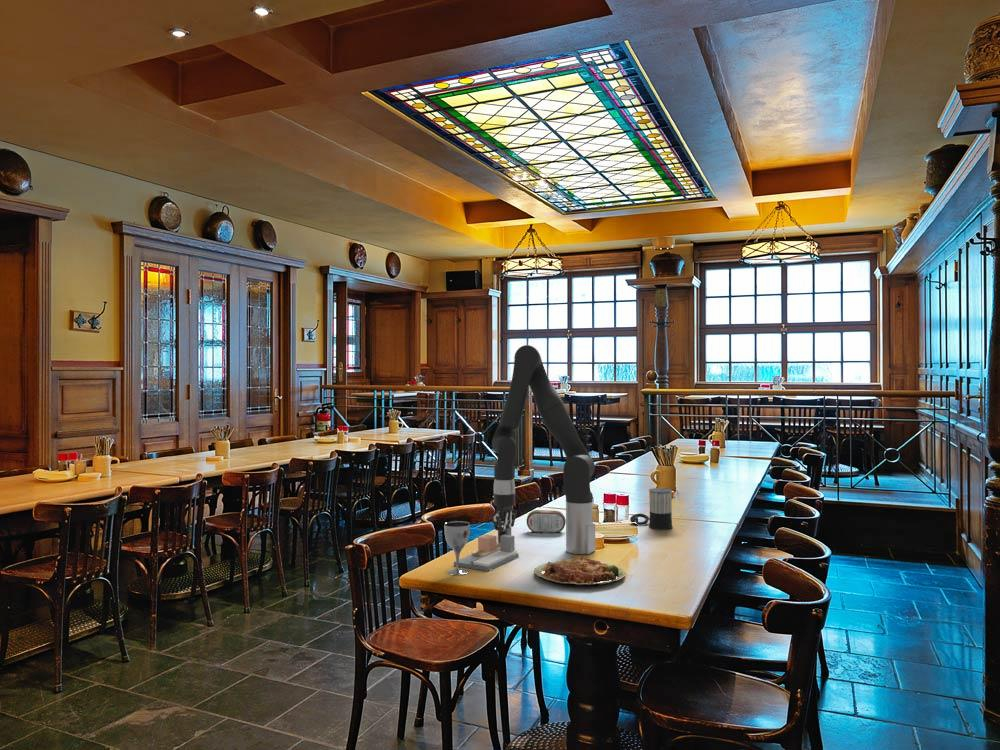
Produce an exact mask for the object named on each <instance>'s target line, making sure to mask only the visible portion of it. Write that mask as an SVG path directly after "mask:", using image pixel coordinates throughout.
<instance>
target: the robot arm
mask: <svg viewBox="0 0 1000 750" xmlns="http://www.w3.org/2000/svg"><path fill="white" fill-rule="evenodd" d="M512 371H513V372H512V375H511V382H510V387H509V389H508V393H507V396H506V399H505V400H506V401H505V404H504V406H503V410H502V414H501V418H500V421H499V424H498V426H497V428H496V430H495V432H494V433H493V437H492V440H491V447H492V450H493V451H494V452H495V453H496V454H497V458H496V459H497V461H496V463H495V464H494V466H493V469H494V470H493V472H494V473H493V474H494V476H493V477H494V481H493V505H494V506H495V507H496V510H495V515H492V516H491V520H492V523H493V527H494V530H495V531H497V532H498V531H499V542H500V536H502V535H505V529H506V528H511V529H512V528H514V525H515V521H516V518H517V514H518V513H517V512H518V511H517V510H515V509H514V508H513V507H514V506H516V483H515V463H516V458H517V450H518V449H517V448H518V447H517V443H516V439H514V438H513V437H514V434H515V432H516V430H518V429H519V428H520V426H521V421H522V419H523V416H524V411H525V407H526V400H527V395H528V391H529V390H528V388H530V390H531V392H532V397H533V399H534V404H535V405H536V409H537V411H538V413H539V416H540V417H541V420H542V422H543V424H544V426H545V428H546V429H547V430H548V432H549V433H550V434H551V436H552V437H553V438H554V439H555V440H556V441H557V443H558V444H559V445H560V447H561V448H562V450H563V452H564V454H565V457H566V460H565V462H564V465H563V474H562V475H563V476H562V477H563V492H564V496H565V520H566V523H565V550H566V552H567V553H569V554H575V555H590V554H592V553H594V552H595V551H596V523H595V522H594V514H593V513H594V512H593V511H594V510H593V509H594V507H593V504H594V503H593V500H594V495H593V493H592V491H591V482H590V481H591V479H590V478H591V477H592V476H594V473H595V461H594V460H593V458H592V457H591V455H590V453H589V452H588V449H586V446H585V445H584V444H583V441H582V440H581V439H580V436H579V434H578V432H577V429H576V427H575V425H574V423H573V420H572V419H571V416H570V414H569V411H568V409H567V408H566V405H565V403H564V402H563V399H562V398H561V396H560V394H559V393H558V391H557V389H556V388H555V387H554V385H553V384H552V382H551V381H550V379H549V376H548V374H547V372H546V369H545V366H544V364H543V360H542V356H541V354H540V352H539V350H538V349H537V348H536V347H535V346H533V345H529V344H524V345H522V346H520V347H519V348H518V349H517V350H516V351H515V353H514V361H513V369H512ZM502 527H503V528H502Z"/></svg>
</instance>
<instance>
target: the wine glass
mask: <svg viewBox="0 0 1000 750" xmlns="http://www.w3.org/2000/svg"><path fill="white" fill-rule="evenodd" d="M443 527H444V536H445V541H446V543H447V545H448V546H449V547H450V548H451V550H452V551H453V552H454V554H455V555H454V556H455V561H456V566H455V568H452V569H449V570H446V572H447V573H448V574H453V575H452V576H454V575H460V576H465V575H468V574H469V573H470V571H469V569H465V568H460V566H459V559H460V554H461V552H462V551H463V549H464V547H465V546H466V545H467V543H468V542H469V539H470V533H471V524H470V522H469V521H462V520H460V521H459V520H453V521H448V522H445V523H444V526H443ZM447 573H446V574H447ZM467 573H468V574H467ZM448 574H447V575H448ZM464 574H465V575H464Z"/></svg>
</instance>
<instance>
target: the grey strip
mask: <svg viewBox="0 0 1000 750" xmlns="http://www.w3.org/2000/svg"><path fill="white" fill-rule="evenodd" d="M515 545H516V544H515V535H512V534H511V535H502V536H500V550H499V551H497V552H494V553H492V554H490V555H487V556H485V557H483V558H480V559H478V560H476V561H473V564H474V565H480V566H486V567H488V566H490V565H492V564H495V563H497V562H499V561H501V560H503V559H506V558H508V557H510V556H512V555H514V554H516V553H517V550H515V547H516V546H515Z"/></svg>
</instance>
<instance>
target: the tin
mask: <svg viewBox="0 0 1000 750" xmlns="http://www.w3.org/2000/svg"><path fill="white" fill-rule="evenodd" d="M526 525H527V527H528V529H529V530H530V532H532V533H536V532H558V533H560V532H562V531H563V530H564V528H566V516H565V515H564V514H563V513H562V512H561V511H560V510H559V511H558V510H549V509H548V510H545V509H544V510H543V509H535V510H532V511H530V512H529V513H528V515H527V517H526Z"/></svg>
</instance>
